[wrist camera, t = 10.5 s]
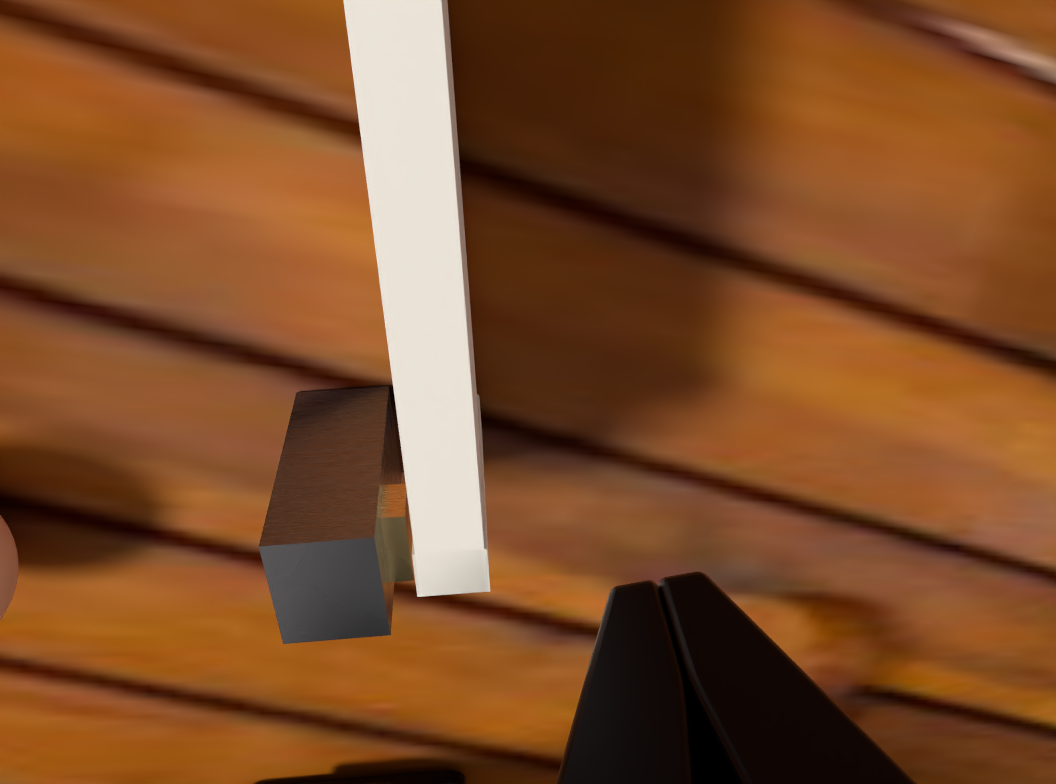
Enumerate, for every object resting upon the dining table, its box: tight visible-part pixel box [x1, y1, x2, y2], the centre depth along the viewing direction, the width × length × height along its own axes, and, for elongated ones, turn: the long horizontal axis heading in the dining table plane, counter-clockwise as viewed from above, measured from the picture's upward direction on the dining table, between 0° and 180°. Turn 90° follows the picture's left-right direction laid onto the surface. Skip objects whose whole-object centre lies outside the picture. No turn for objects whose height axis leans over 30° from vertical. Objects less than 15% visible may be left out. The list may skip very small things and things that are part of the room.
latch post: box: [259, 386, 414, 644], centre depth 20 cm, size 2×2×5 cm
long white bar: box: [343, 0, 490, 597], centre depth 16 cm, size 12×1×5 cm, turn 2°
